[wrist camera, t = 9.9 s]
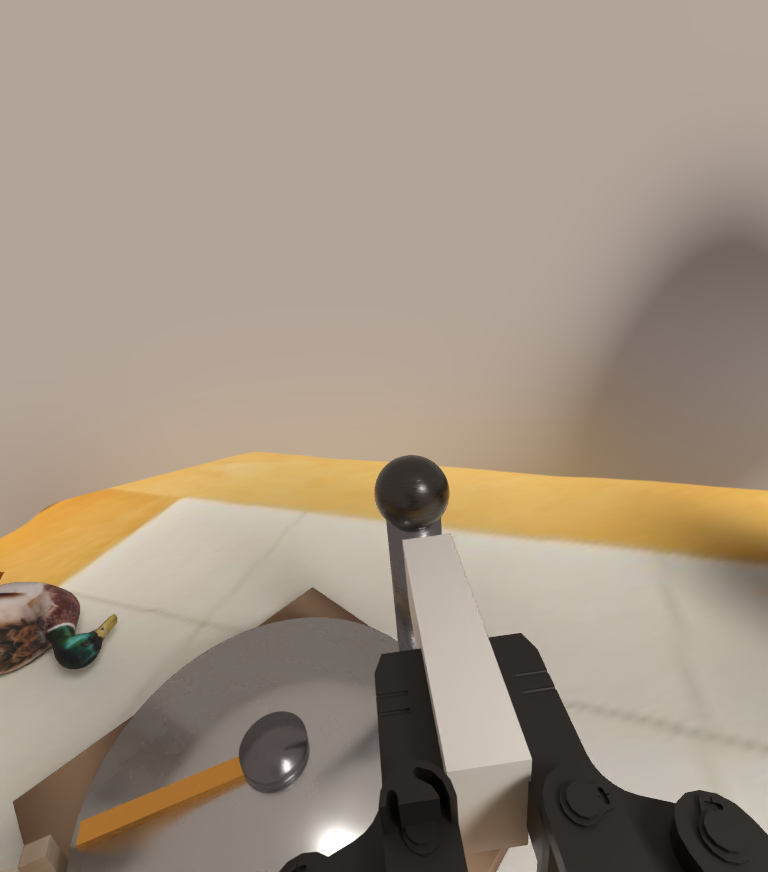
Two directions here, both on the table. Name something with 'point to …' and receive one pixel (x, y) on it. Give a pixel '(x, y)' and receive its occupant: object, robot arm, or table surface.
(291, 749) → the dial
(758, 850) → the robot arm
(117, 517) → the table surface
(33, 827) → the walnut stand board
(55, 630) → the decorative duck model
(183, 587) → the table surface
